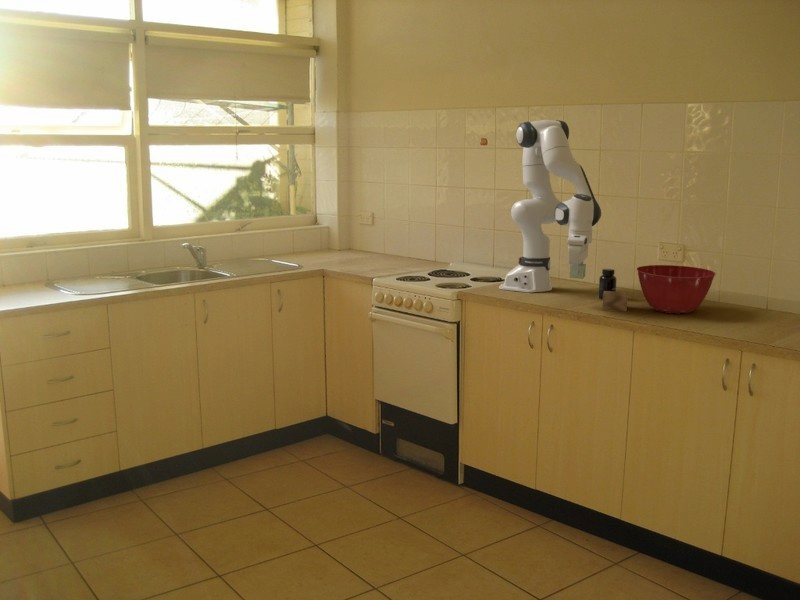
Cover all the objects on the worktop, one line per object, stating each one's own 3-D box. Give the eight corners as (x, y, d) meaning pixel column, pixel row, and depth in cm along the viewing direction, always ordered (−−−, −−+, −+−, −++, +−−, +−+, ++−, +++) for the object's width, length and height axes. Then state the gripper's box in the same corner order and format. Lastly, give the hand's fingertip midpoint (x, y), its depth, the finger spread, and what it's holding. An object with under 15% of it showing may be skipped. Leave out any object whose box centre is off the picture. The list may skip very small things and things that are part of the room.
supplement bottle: (616, 300, 331) (617, 270, 329) (598, 299, 333) (599, 270, 330) (615, 297, 338) (616, 268, 336) (598, 296, 339) (599, 267, 337)
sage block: (569, 277, 317) (570, 265, 315) (572, 275, 321) (573, 262, 320) (582, 279, 315) (583, 266, 314) (585, 276, 319) (585, 264, 318)
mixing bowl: (712, 305, 321) (715, 266, 318) (713, 320, 294) (716, 278, 291) (637, 301, 330) (639, 263, 327) (631, 315, 304) (633, 273, 301)
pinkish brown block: (602, 310, 313) (602, 295, 312) (603, 306, 321) (603, 290, 320) (626, 311, 310) (627, 296, 309) (627, 307, 319) (627, 292, 318)
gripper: (577, 233, 325) (574, 267, 328) (566, 240, 306) (563, 276, 310) (593, 234, 322) (590, 269, 326) (583, 241, 304) (580, 278, 307)
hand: (577, 273), depth 317 cm, fingers closed on sage block, 5 cm apart
